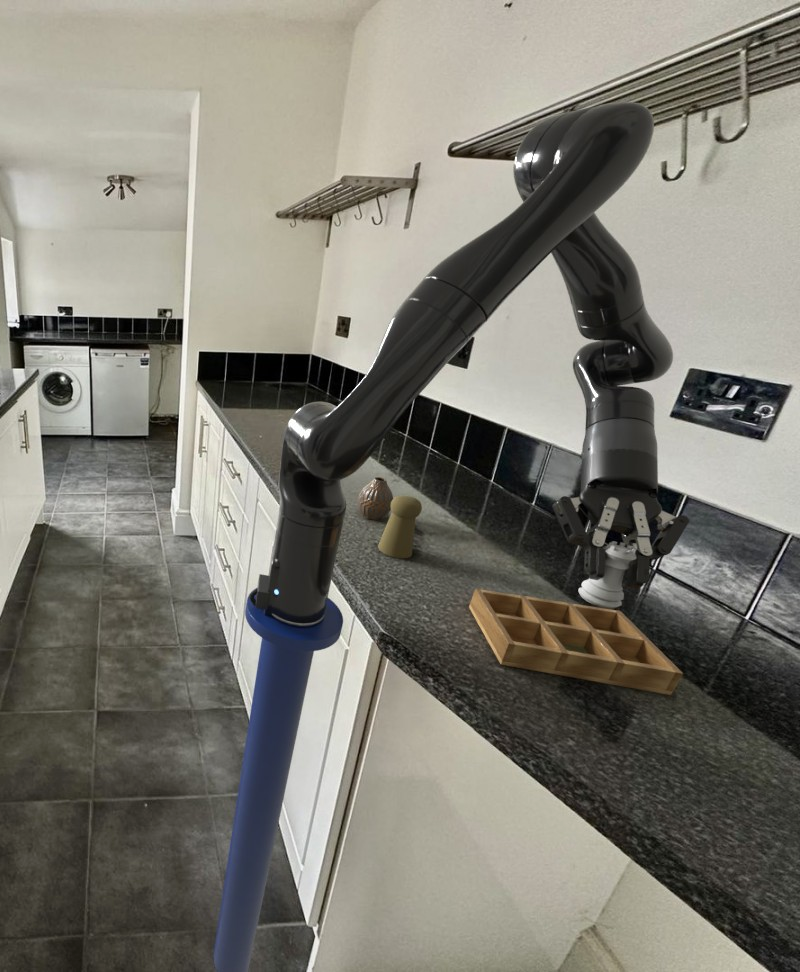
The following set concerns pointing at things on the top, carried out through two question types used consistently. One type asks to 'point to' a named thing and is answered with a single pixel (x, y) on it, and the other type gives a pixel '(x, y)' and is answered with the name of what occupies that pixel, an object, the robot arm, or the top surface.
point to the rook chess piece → (609, 577)
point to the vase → (375, 499)
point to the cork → (400, 527)
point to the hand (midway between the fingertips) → (616, 581)
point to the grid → (572, 641)
